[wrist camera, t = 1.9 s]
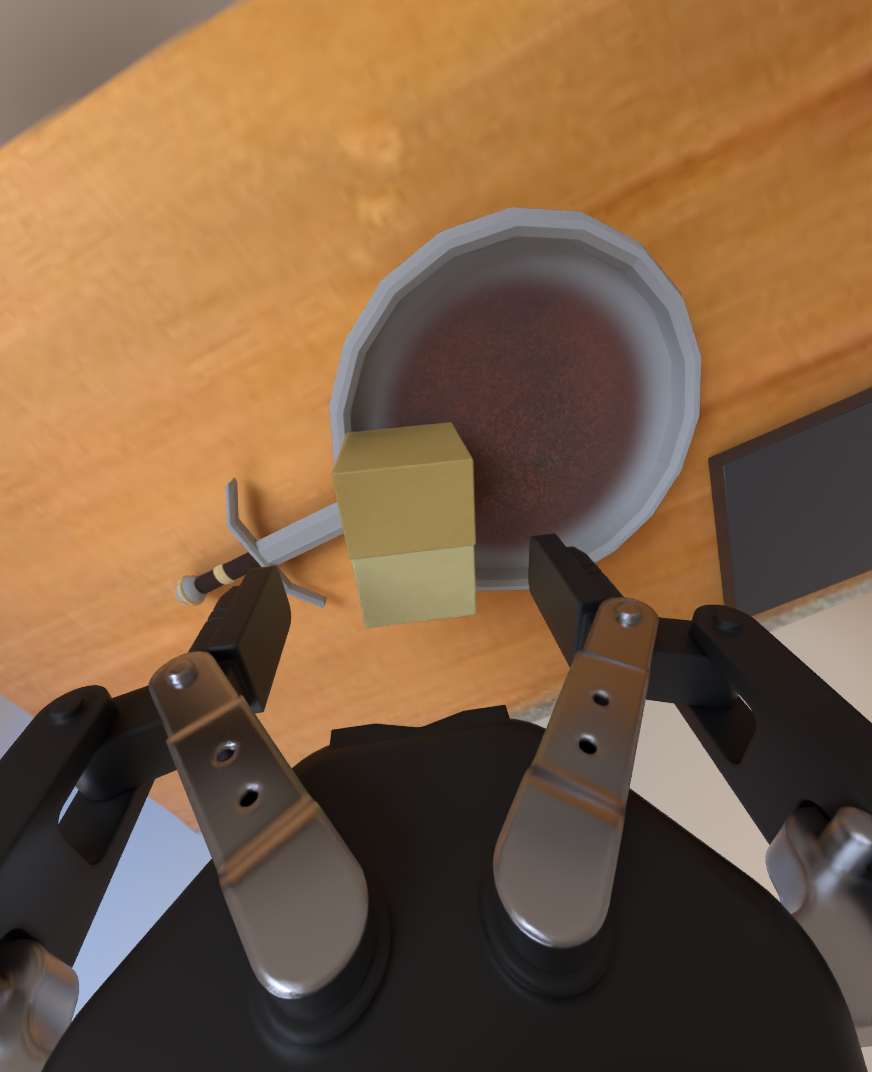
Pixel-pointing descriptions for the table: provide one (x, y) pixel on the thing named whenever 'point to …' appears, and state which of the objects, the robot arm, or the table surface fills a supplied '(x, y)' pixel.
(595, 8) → the table surface
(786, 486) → the slate board
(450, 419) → the frying pan
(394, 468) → the butter
